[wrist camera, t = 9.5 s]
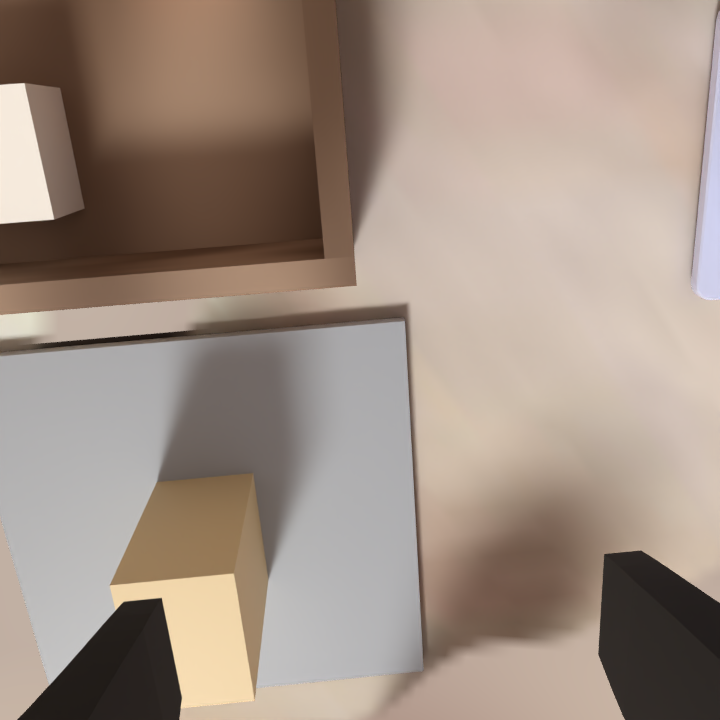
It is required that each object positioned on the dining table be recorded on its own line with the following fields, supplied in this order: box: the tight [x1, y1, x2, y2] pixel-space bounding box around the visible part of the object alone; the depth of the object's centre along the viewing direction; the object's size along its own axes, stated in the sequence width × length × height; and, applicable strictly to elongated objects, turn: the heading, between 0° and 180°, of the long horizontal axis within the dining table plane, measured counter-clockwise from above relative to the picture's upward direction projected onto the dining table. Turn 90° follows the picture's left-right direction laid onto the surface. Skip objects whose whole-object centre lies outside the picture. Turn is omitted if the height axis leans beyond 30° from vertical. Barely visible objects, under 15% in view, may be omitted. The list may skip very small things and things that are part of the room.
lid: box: [0, 317, 424, 708], centre depth 20 cm, size 13×13×6 cm
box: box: [0, 0, 357, 315], centre depth 16 cm, size 12×12×4 cm
